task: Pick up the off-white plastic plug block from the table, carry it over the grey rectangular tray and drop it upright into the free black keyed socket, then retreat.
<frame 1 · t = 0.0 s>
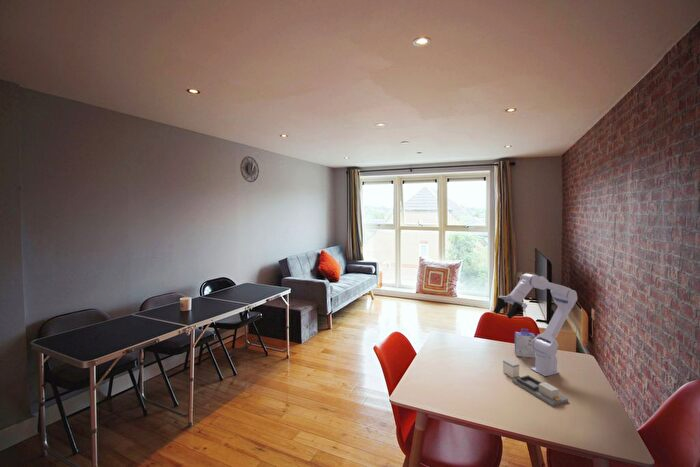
hand: (501, 314, 146), 32 cm above the table, tool tilted 50°, fingers open, 7 cm apart
grey rectangular tray: (538, 391, 140), on the table
plug: (510, 374, 155), on the table
ink cartridge box: (524, 355, 175), on the table
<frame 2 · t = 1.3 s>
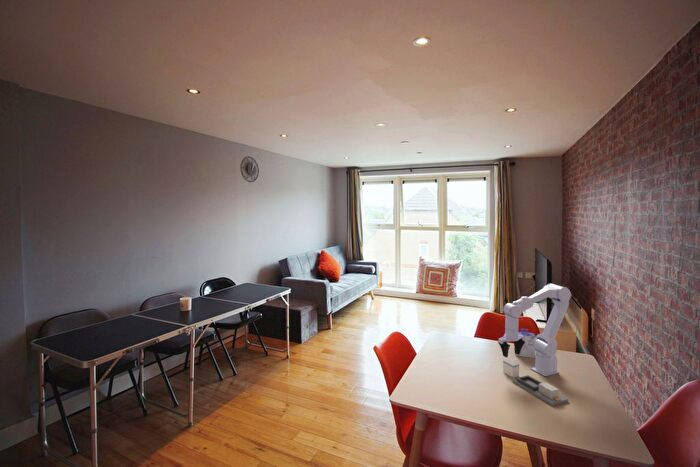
hand: (511, 355, 154), 9 cm above the table, tool pointing down, fingers open, 7 cm apart
nothing on the table moved.
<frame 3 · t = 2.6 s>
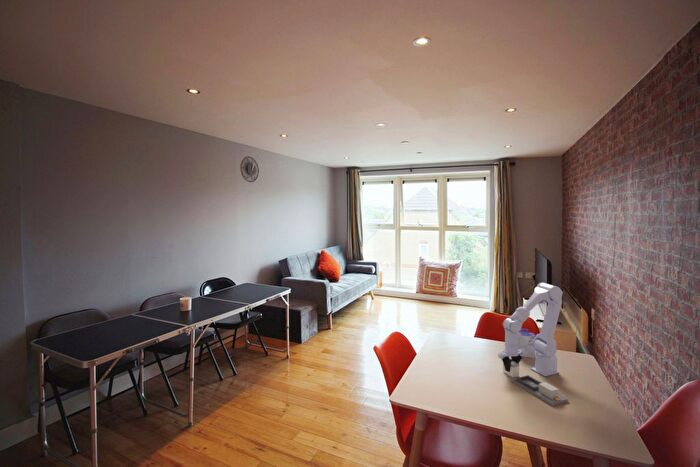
hand: (511, 370, 155), 2 cm above the table, tool pointing down, fingers closed on plug, 4 cm apart
plug: (510, 373, 155), on the table, touching gripper
everything else where it was.
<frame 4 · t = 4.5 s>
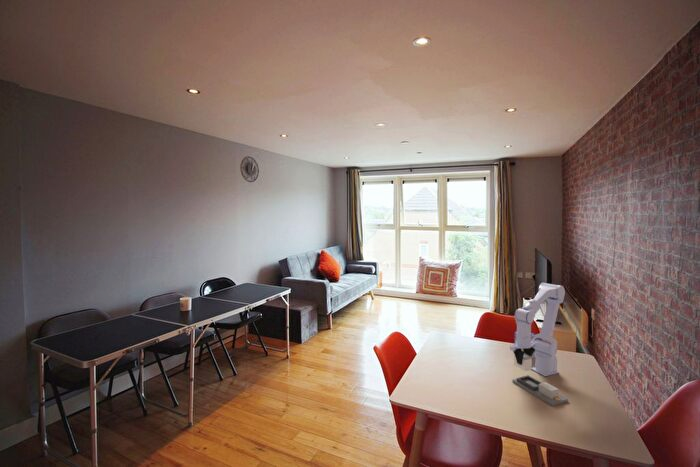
hand: (523, 363, 147), 9 cm above the table, tool pointing down, fingers closed on plug, 4 cm apart
plug: (522, 367, 147), point 7 cm above the table, touching gripper
everything else where it was.
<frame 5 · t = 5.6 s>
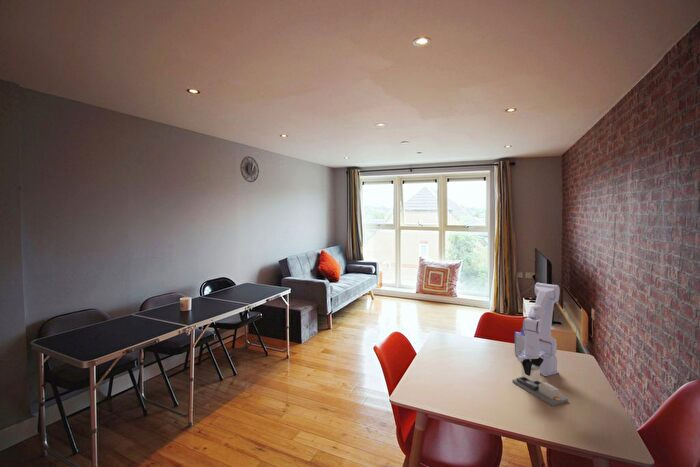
hand: (531, 373, 143), 6 cm above the table, tool pointing down, fingers closed on plug, 4 cm apart
plug: (530, 377, 143), point 4 cm above the table, touching gripper
everything else where it was.
when the fingers open (4 cm above the table, at t = 6.5 s): plug stays where it is, resting on grey rectangular tray.
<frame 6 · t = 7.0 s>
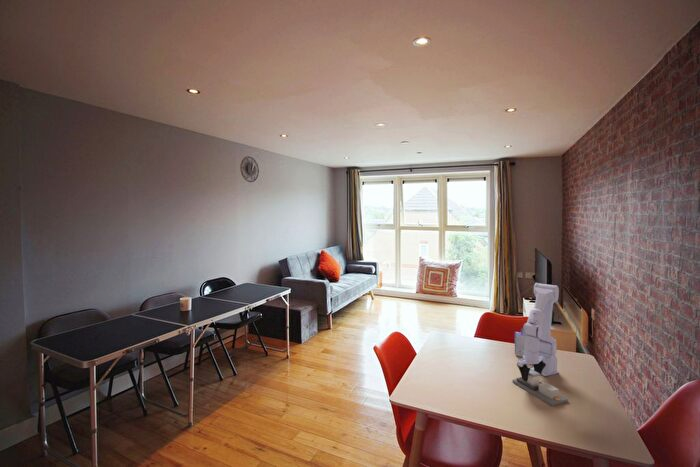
hand: (531, 378, 143), 4 cm above the table, tool pointing down, fingers open, 7 cm apart
plug: (530, 383, 143), point 1 cm above the table, touching grey rectangular tray
everything else where it was.
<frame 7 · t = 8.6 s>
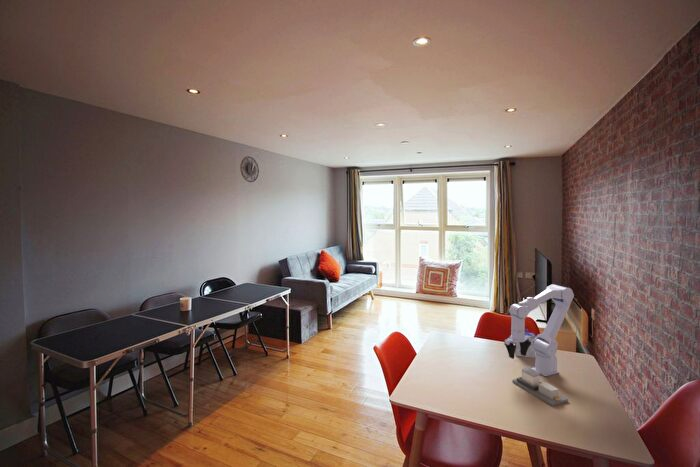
hand: (517, 356, 153), 9 cm above the table, tool pointing down, fingers open, 7 cm apart
nothing on the table moved.
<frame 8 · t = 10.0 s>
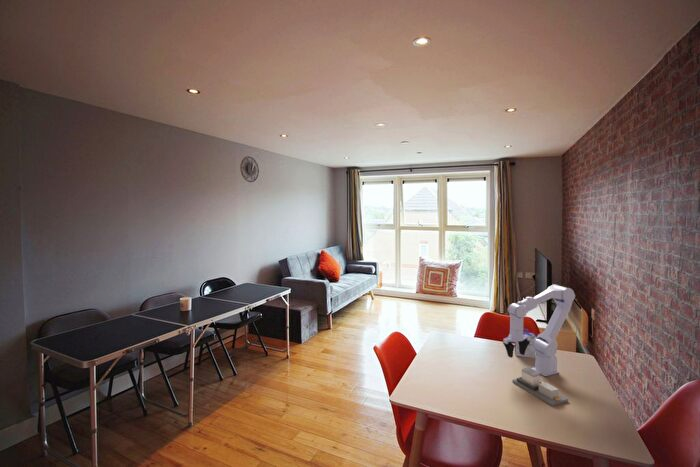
hand: (516, 355, 154), 9 cm above the table, tool pointing down, fingers open, 7 cm apart
nothing on the table moved.
at the end: plug 0.2 cm from the target spot on the grey rectangular tray, point 1.2 cm above the grey rectangular tray's base; plug tilted 0°; the gripper is holding nothing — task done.
